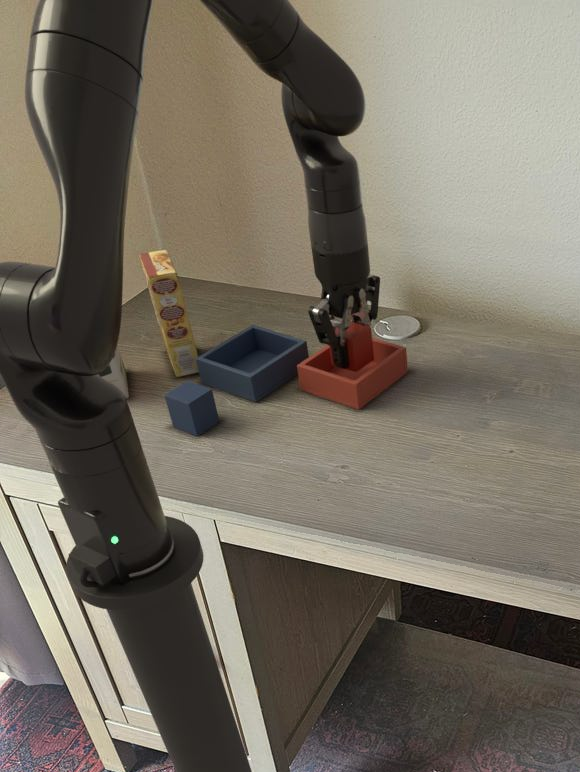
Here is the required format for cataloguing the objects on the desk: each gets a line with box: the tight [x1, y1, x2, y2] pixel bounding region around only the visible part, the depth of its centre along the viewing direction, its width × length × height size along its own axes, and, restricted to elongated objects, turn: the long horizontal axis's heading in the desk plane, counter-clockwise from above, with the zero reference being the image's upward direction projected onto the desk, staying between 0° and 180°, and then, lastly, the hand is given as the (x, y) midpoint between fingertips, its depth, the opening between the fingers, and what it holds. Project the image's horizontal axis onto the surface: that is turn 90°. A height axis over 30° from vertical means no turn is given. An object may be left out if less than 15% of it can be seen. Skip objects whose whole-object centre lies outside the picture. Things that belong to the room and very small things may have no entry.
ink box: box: [97, 344, 130, 399], centre depth 123 cm, size 9×5×12 cm, turn 18°
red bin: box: [297, 337, 409, 410], centre depth 127 cm, size 13×11×4 cm
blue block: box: [163, 380, 220, 437], centre depth 119 cm, size 4×4×5 cm
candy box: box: [139, 249, 199, 378], centre depth 127 cm, size 9×4×15 cm, turn 24°
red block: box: [329, 320, 374, 372], centre depth 125 cm, size 4×4×5 cm
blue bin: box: [196, 324, 310, 403], centre depth 129 cm, size 13×11×4 cm
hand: (352, 359), depth 126 cm, fingers closed on red block, 4 cm apart
